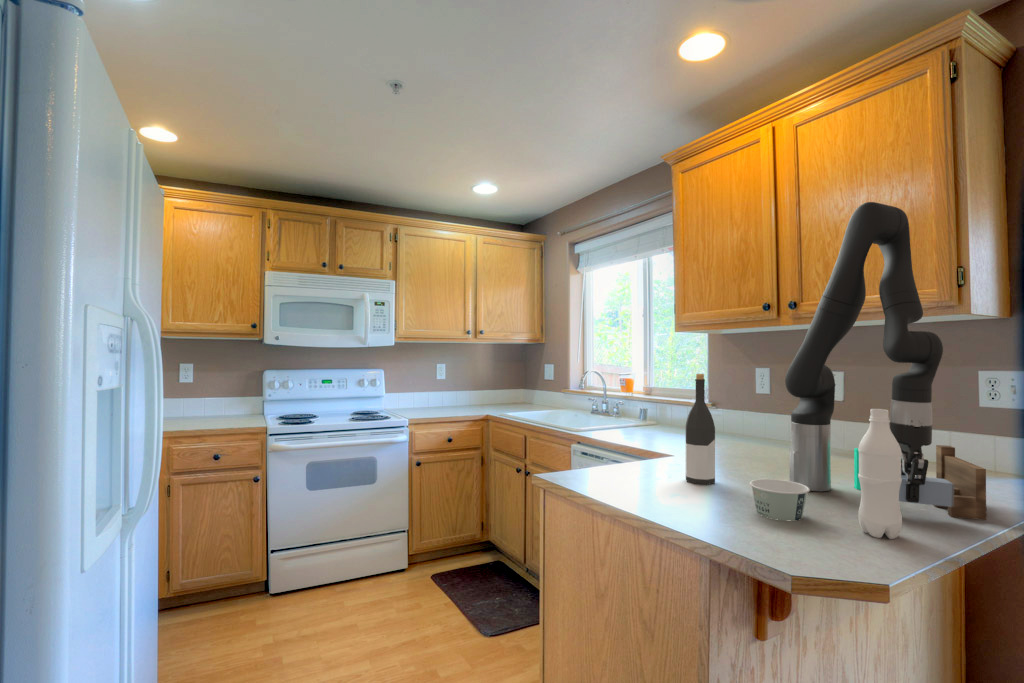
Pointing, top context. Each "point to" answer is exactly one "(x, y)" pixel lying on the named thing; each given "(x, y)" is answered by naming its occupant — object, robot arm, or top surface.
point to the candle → (856, 469)
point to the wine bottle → (700, 440)
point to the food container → (779, 498)
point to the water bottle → (880, 478)
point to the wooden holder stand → (962, 484)
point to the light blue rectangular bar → (931, 492)
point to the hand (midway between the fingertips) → (908, 498)
